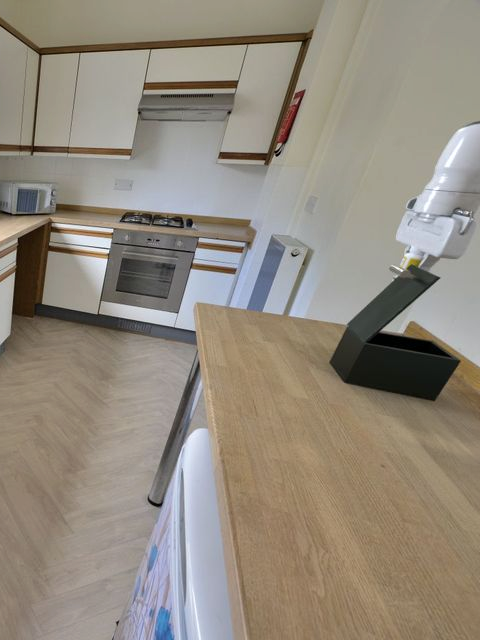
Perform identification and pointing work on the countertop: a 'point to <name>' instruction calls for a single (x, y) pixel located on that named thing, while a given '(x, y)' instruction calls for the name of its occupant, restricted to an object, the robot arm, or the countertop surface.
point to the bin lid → (392, 300)
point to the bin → (394, 364)
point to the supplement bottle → (411, 258)
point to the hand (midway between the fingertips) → (413, 270)
